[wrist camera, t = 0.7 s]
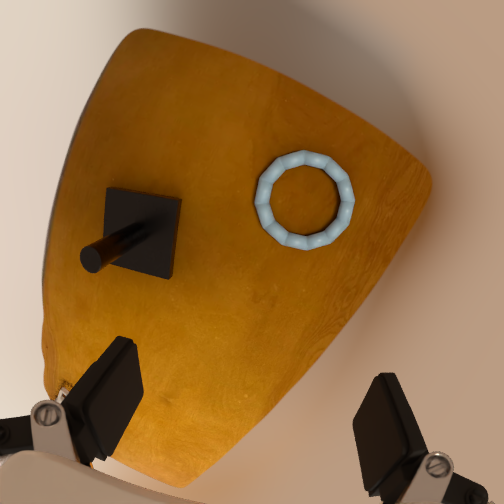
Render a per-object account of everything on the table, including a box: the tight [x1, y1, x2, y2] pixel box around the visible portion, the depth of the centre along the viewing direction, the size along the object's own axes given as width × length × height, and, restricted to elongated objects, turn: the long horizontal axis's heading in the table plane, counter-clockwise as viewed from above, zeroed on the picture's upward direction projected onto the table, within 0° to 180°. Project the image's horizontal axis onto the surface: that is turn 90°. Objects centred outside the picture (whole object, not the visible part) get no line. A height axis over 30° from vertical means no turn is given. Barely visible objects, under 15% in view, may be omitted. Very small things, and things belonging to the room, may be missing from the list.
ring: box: [255, 150, 355, 250], centre depth 28 cm, size 10×10×1 cm
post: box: [80, 187, 182, 280], centre depth 26 cm, size 9×9×10 cm
